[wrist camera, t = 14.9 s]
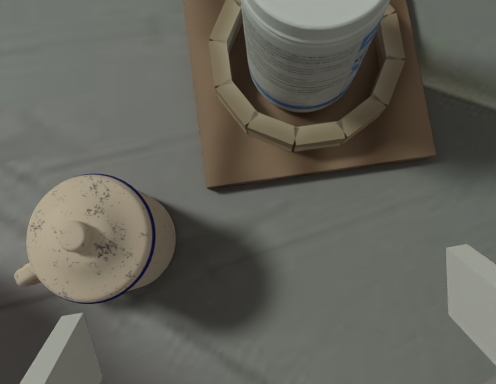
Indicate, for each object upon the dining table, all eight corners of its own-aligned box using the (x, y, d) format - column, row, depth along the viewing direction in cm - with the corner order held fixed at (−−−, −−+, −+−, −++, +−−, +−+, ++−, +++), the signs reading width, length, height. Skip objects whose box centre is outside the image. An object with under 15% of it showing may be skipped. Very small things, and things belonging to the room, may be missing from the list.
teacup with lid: (154, 172, 40) (108, 141, 28) (196, 264, 39) (165, 270, 27) (34, 230, 40) (-62, 222, 28) (72, 324, 39) (-12, 356, 27)
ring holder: (208, 188, 40) (202, 182, 36) (182, -16, 42) (174, -41, 38) (431, 157, 39) (448, 148, 35) (391, -48, 42) (403, -77, 38)
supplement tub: (362, 107, 39) (420, 22, 24) (255, 122, 39) (247, 47, 24) (345, 5, 40) (389, -136, 25) (241, 20, 40) (225, -110, 26)
